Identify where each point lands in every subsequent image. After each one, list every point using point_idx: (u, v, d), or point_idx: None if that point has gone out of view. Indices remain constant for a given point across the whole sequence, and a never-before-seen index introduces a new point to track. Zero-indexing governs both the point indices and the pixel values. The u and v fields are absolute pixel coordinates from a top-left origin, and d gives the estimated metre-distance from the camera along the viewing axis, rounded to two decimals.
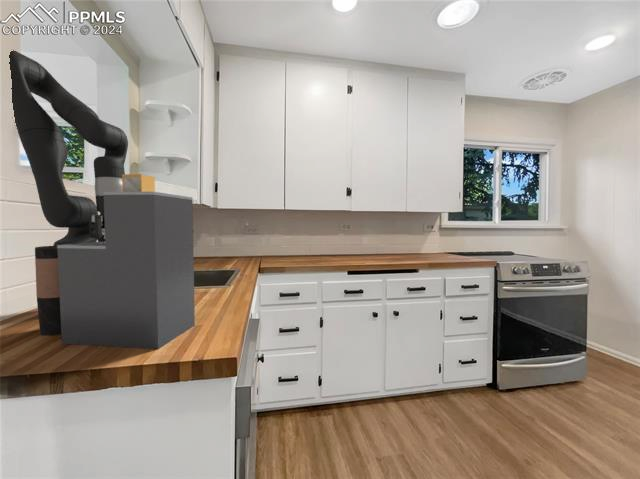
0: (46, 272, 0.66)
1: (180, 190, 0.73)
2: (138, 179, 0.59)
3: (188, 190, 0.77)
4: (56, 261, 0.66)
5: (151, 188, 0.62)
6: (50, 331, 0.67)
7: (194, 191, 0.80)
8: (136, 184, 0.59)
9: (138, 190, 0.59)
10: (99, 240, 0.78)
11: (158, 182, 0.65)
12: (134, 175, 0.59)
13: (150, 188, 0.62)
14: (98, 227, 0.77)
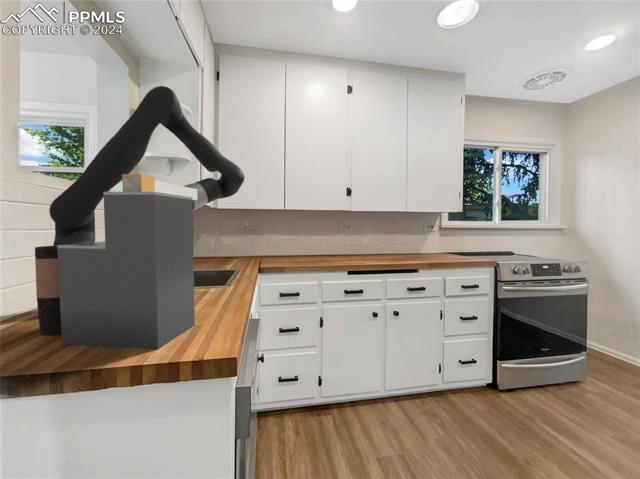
0: (46, 272, 0.66)
1: (180, 190, 0.73)
2: (138, 179, 0.59)
3: (188, 190, 0.77)
4: (56, 261, 0.66)
5: (151, 188, 0.62)
6: (50, 331, 0.67)
7: (194, 191, 0.80)
8: (136, 184, 0.59)
9: (138, 190, 0.59)
10: None
11: (158, 182, 0.65)
12: (134, 175, 0.59)
13: (150, 188, 0.62)
14: None
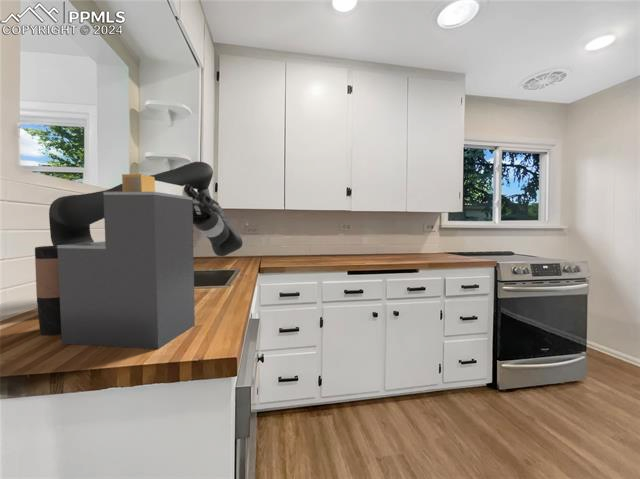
0: (46, 272, 0.66)
1: (180, 189, 0.73)
2: (138, 179, 0.59)
3: None
4: (56, 261, 0.66)
5: (151, 188, 0.62)
6: (50, 331, 0.67)
7: None
8: (136, 184, 0.59)
9: (138, 190, 0.59)
10: (196, 194, 0.78)
11: (158, 182, 0.65)
12: (134, 175, 0.59)
13: (150, 188, 0.62)
14: (208, 205, 0.80)
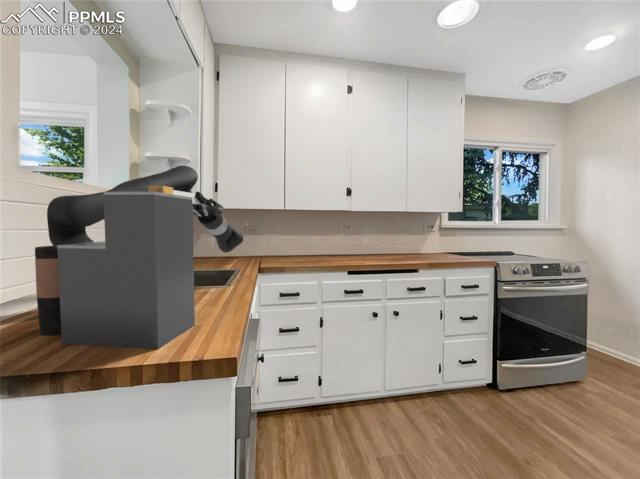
0: (46, 272, 0.66)
1: (192, 196, 0.90)
2: (161, 190, 0.76)
3: None
4: (56, 261, 0.66)
5: None
6: (50, 331, 0.67)
7: None
8: None
9: None
10: (205, 199, 0.95)
11: (175, 191, 0.82)
12: (158, 186, 0.76)
13: None
14: (214, 208, 0.97)
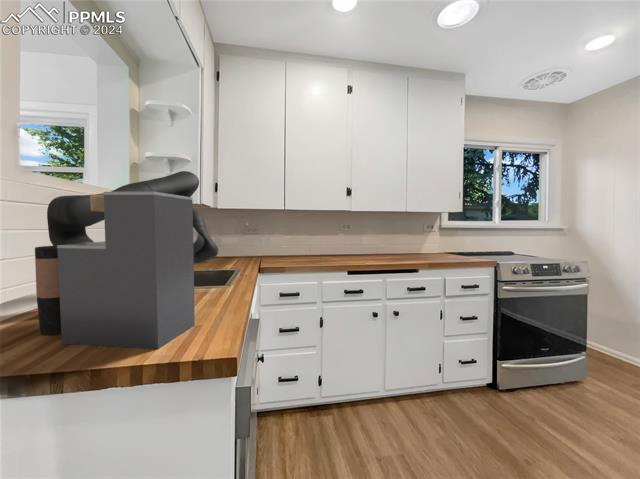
0: (46, 272, 0.66)
1: None
2: None
3: None
4: (56, 261, 0.66)
5: None
6: (50, 331, 0.67)
7: None
8: (103, 203, 0.65)
9: None
10: None
11: None
12: (101, 195, 0.65)
13: None
14: None
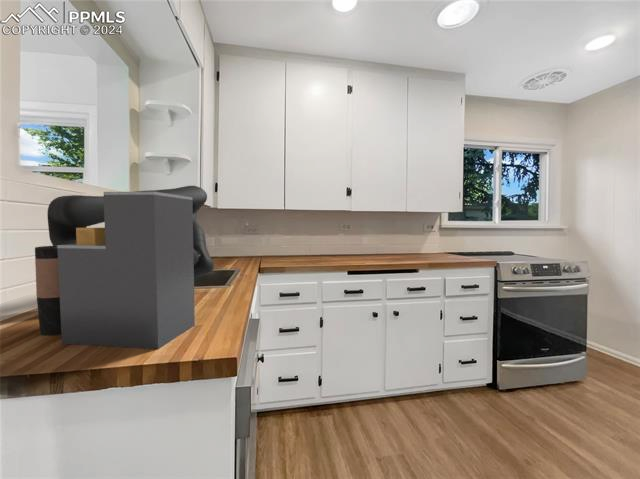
0: (46, 272, 0.66)
1: None
2: (91, 233, 0.61)
3: None
4: (56, 261, 0.66)
5: None
6: (50, 331, 0.67)
7: None
8: (89, 237, 0.61)
9: (91, 243, 0.62)
10: None
11: None
12: (87, 229, 0.61)
13: None
14: None
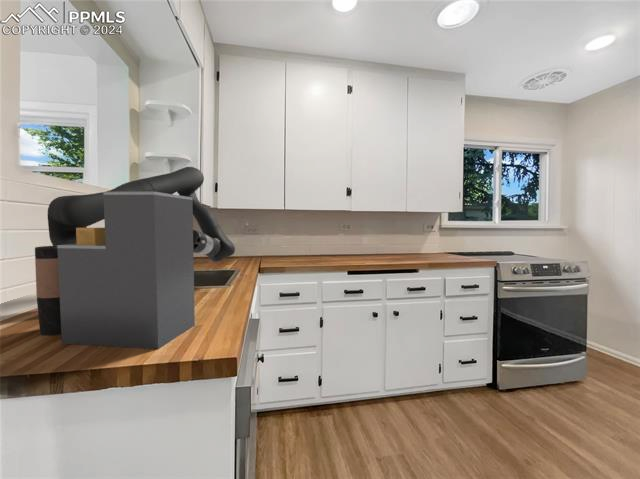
0: (46, 272, 0.66)
1: None
2: (91, 233, 0.61)
3: None
4: (56, 261, 0.66)
5: None
6: (50, 331, 0.67)
7: None
8: (89, 237, 0.61)
9: (91, 243, 0.62)
10: None
11: None
12: (87, 229, 0.61)
13: None
14: (198, 244, 0.94)
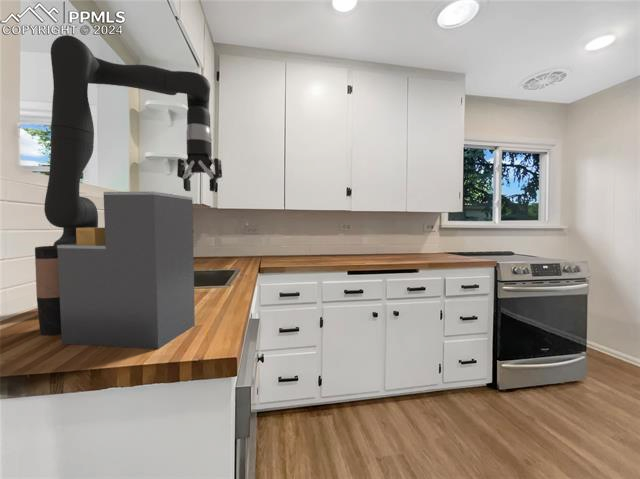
0: (46, 272, 0.66)
1: None
2: (91, 233, 0.61)
3: None
4: (56, 261, 0.66)
5: None
6: (50, 331, 0.67)
7: None
8: (89, 237, 0.61)
9: (91, 243, 0.62)
10: (214, 179, 0.96)
11: None
12: (87, 229, 0.61)
13: None
14: None
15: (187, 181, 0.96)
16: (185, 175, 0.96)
